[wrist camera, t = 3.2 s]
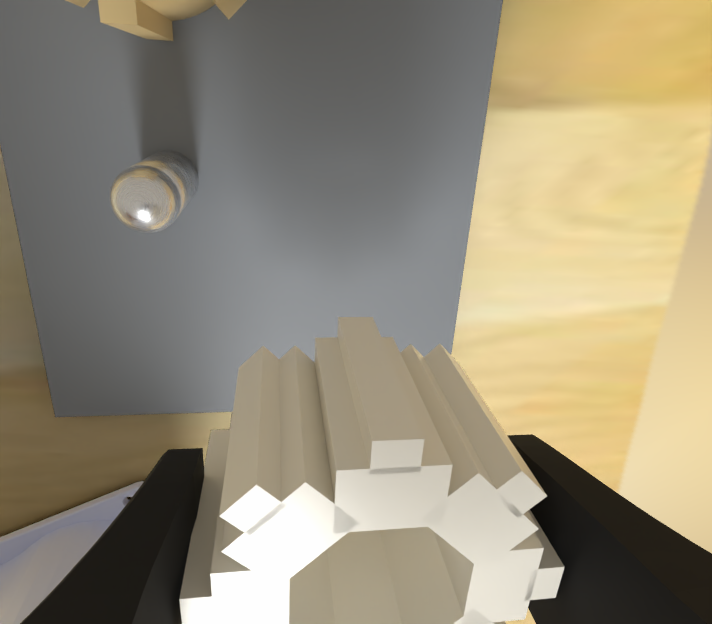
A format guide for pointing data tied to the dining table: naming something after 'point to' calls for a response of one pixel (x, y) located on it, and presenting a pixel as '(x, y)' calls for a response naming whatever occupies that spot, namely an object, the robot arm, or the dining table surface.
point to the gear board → (239, 182)
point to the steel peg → (154, 191)
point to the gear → (364, 496)
